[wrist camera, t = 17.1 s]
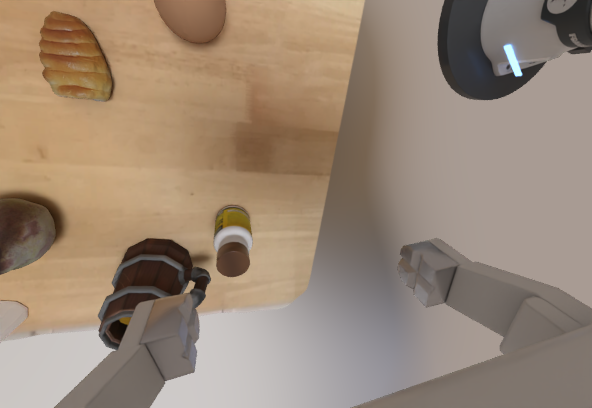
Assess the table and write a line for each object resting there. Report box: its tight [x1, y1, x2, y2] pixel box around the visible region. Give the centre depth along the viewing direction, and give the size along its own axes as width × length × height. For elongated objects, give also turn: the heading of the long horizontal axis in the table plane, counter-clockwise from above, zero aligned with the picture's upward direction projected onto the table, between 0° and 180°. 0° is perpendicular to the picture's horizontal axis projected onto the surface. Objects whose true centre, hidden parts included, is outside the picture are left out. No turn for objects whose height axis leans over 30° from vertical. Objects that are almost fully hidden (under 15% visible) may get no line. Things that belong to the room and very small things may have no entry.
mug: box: [98, 239, 211, 350], centre depth 40 cm, size 16×12×15 cm
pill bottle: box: [214, 206, 253, 253], centre depth 41 cm, size 6×6×11 cm
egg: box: [154, 0, 226, 43], centre depth 27 cm, size 8×8×11 cm
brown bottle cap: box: [216, 242, 250, 277], centre depth 35 cm, size 5×5×2 cm
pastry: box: [39, 11, 112, 102], centre depth 29 cm, size 9×7×4 cm
